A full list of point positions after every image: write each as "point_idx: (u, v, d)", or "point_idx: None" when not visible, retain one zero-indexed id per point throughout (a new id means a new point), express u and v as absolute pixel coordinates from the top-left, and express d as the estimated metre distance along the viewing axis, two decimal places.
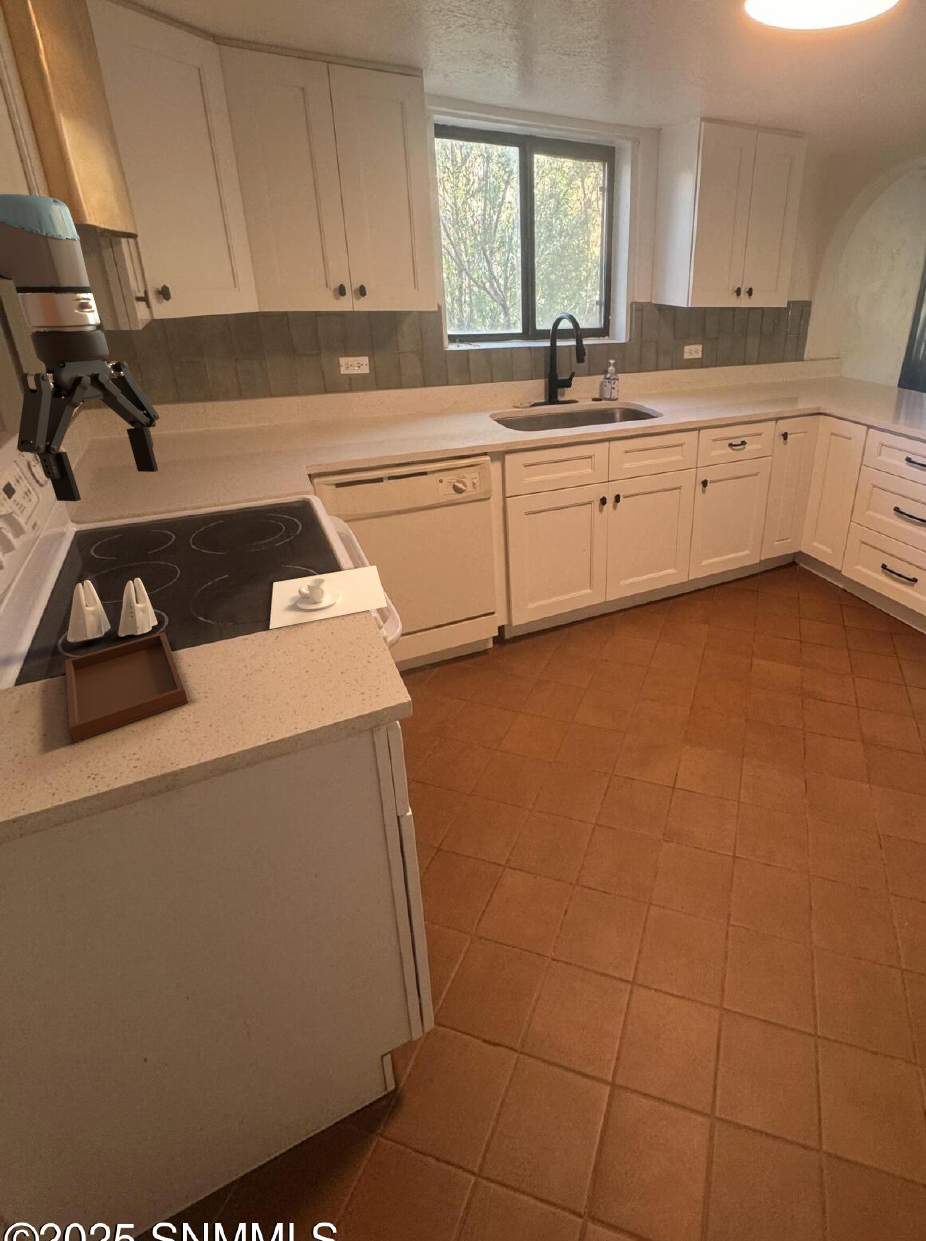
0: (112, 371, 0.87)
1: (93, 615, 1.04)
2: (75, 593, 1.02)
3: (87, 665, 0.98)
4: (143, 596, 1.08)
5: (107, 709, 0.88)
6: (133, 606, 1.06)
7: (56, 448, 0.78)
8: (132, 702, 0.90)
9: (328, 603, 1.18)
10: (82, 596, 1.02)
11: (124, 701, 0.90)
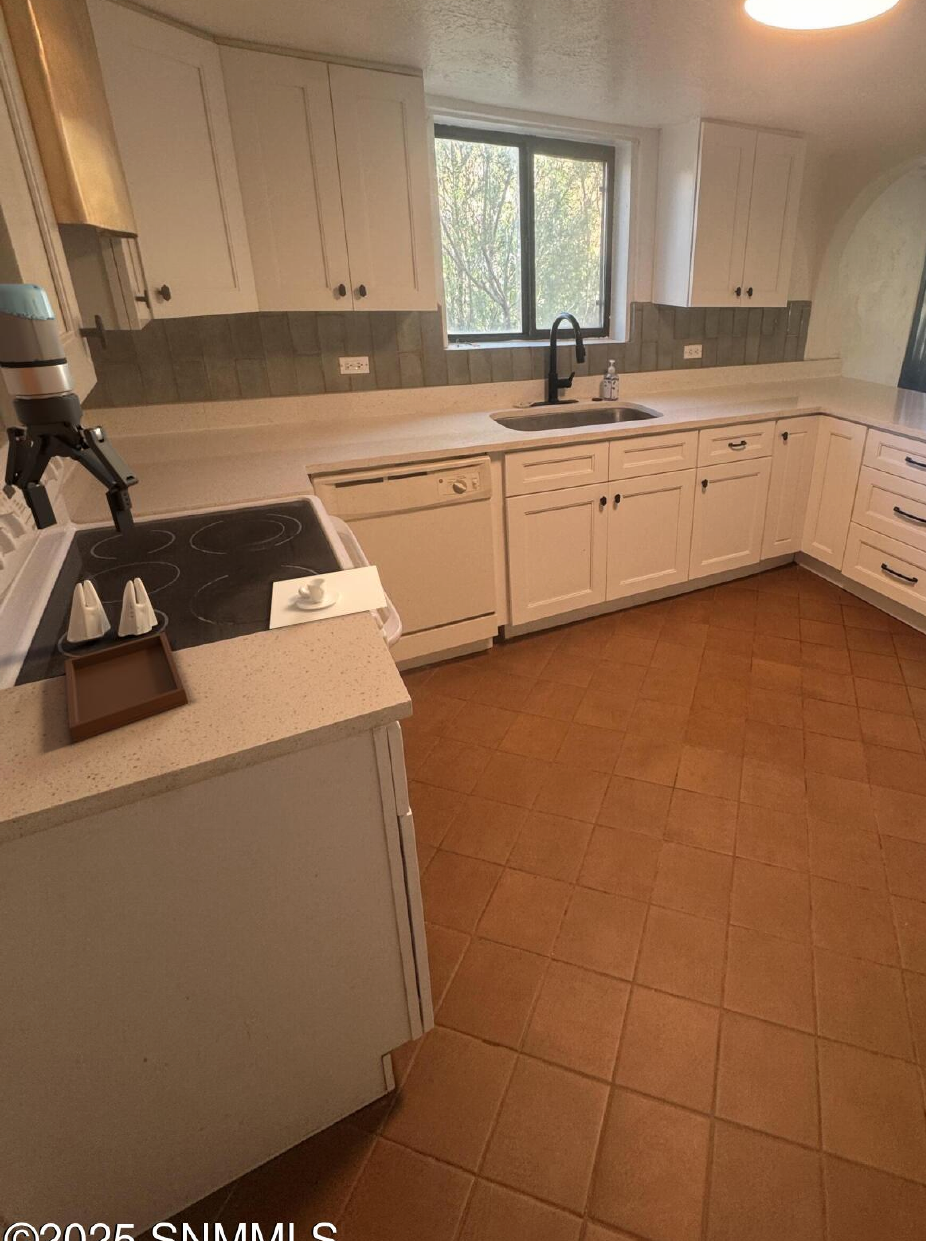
0: None
1: (93, 615, 1.04)
2: (75, 593, 1.02)
3: (87, 665, 0.98)
4: (143, 596, 1.08)
5: (107, 709, 0.88)
6: (133, 606, 1.06)
7: None
8: (132, 702, 0.90)
9: (328, 603, 1.18)
10: (82, 596, 1.02)
11: (124, 701, 0.90)
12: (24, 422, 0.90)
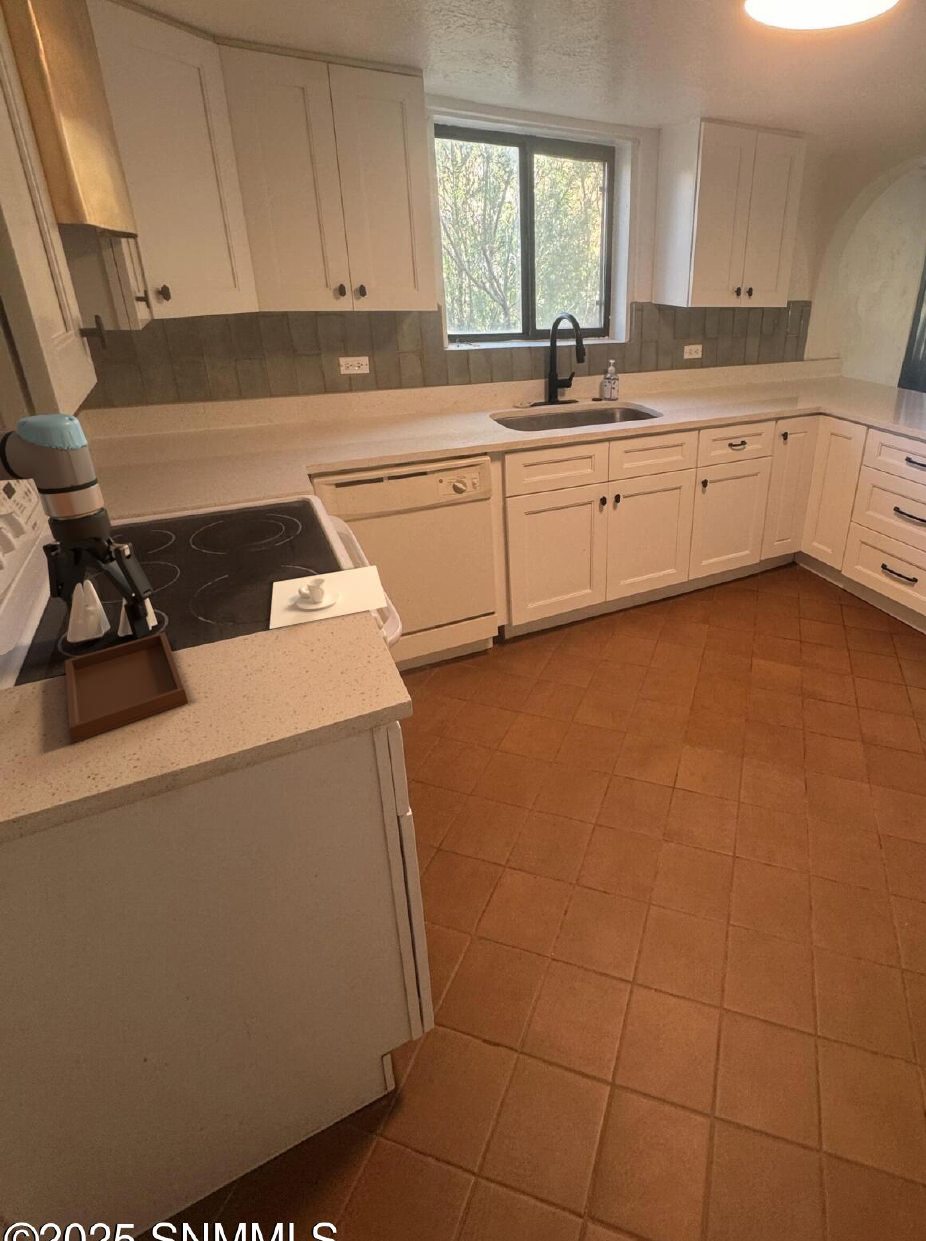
0: None
1: (93, 615, 1.04)
2: (75, 593, 1.02)
3: (87, 665, 0.98)
4: None
5: (107, 709, 0.88)
6: None
7: None
8: (132, 702, 0.90)
9: (328, 603, 1.18)
10: (82, 596, 1.02)
11: (124, 701, 0.90)
12: (59, 540, 0.98)
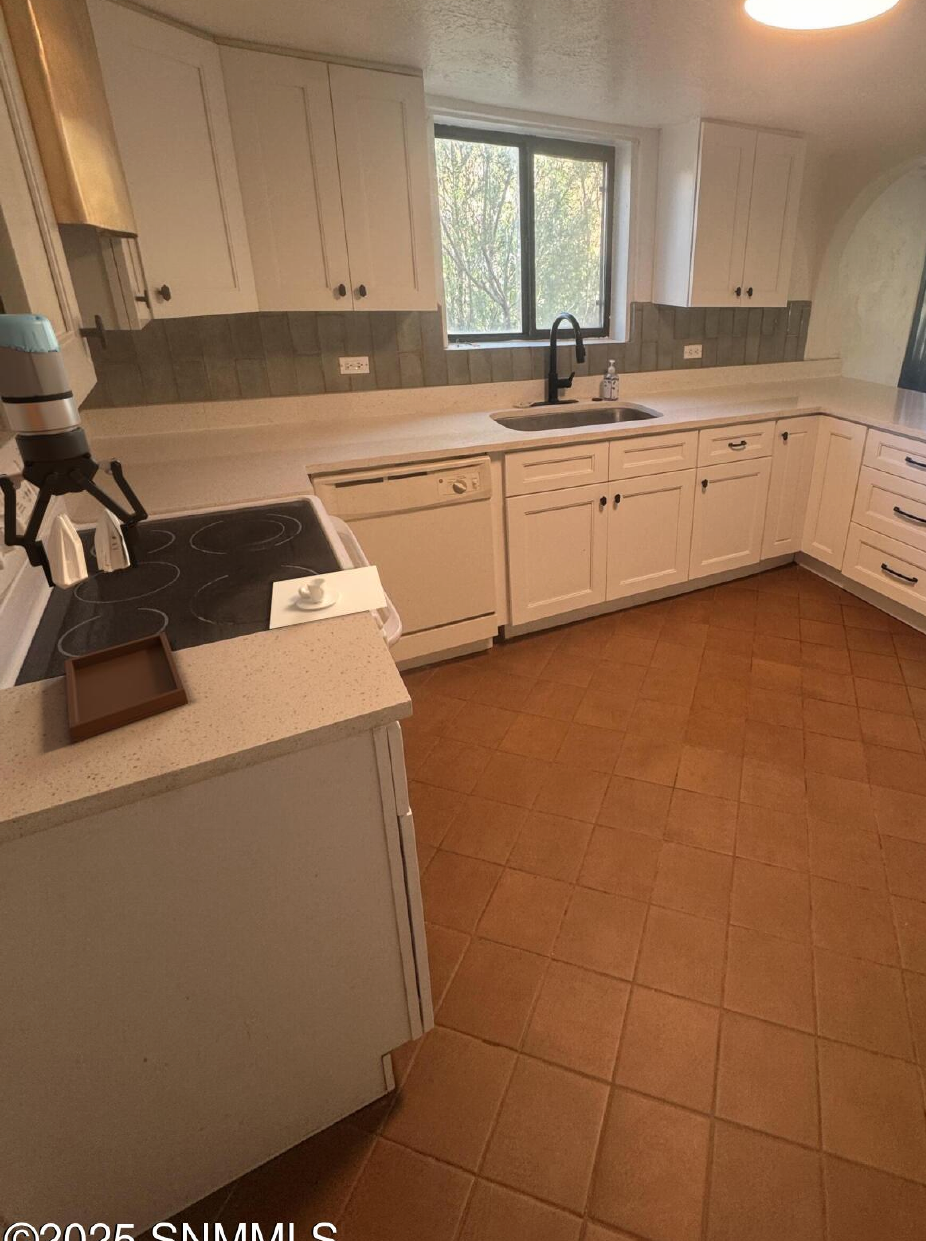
0: None
1: (79, 551, 0.91)
2: (58, 527, 0.89)
3: (87, 665, 0.98)
4: (119, 526, 0.98)
5: (107, 709, 0.88)
6: (118, 535, 0.96)
7: None
8: (132, 702, 0.90)
9: (328, 603, 1.18)
10: (68, 529, 0.89)
11: (124, 701, 0.90)
12: (51, 459, 0.85)
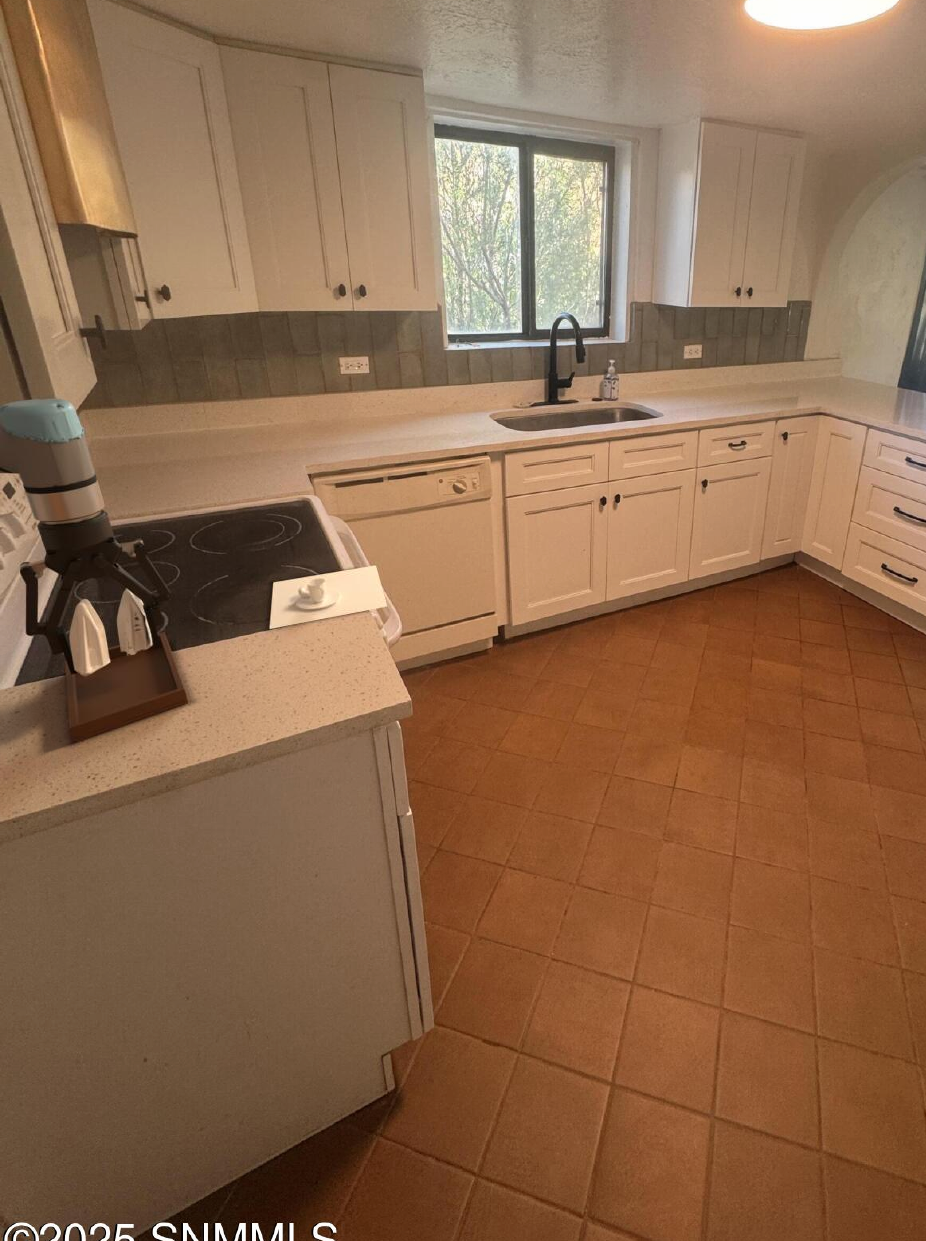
0: None
1: (102, 637, 0.88)
2: (80, 615, 0.86)
3: None
4: (141, 605, 0.95)
5: (107, 709, 0.88)
6: (141, 616, 0.93)
7: None
8: (132, 702, 0.90)
9: (328, 603, 1.18)
10: (91, 616, 0.87)
11: (124, 701, 0.90)
12: (74, 547, 0.83)
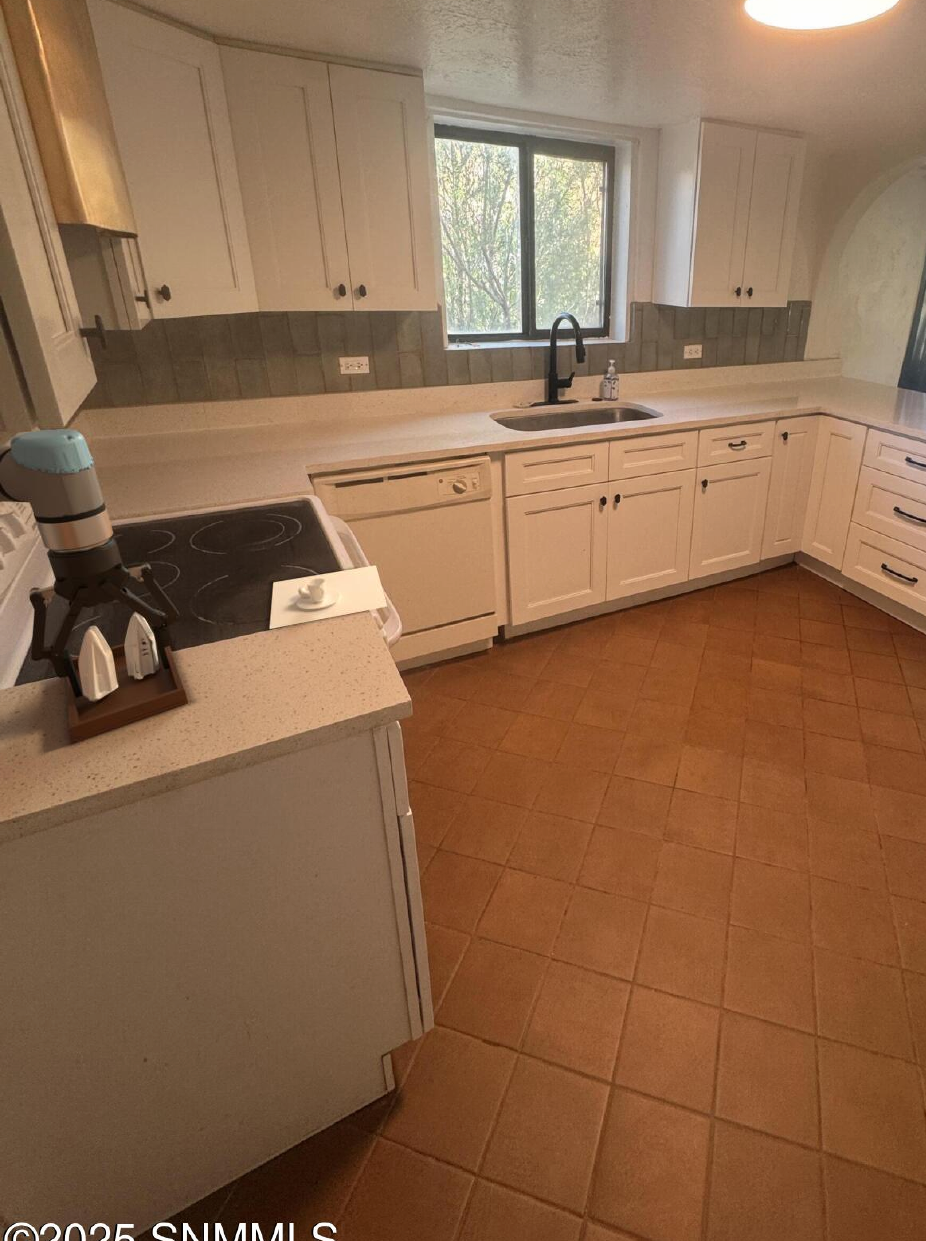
0: None
1: (110, 662, 0.90)
2: (89, 642, 0.87)
3: None
4: (148, 629, 0.96)
5: (107, 709, 0.88)
6: (148, 640, 0.95)
7: None
8: (132, 702, 0.90)
9: (328, 603, 1.18)
10: (99, 642, 0.88)
11: (124, 701, 0.90)
12: (83, 575, 0.84)
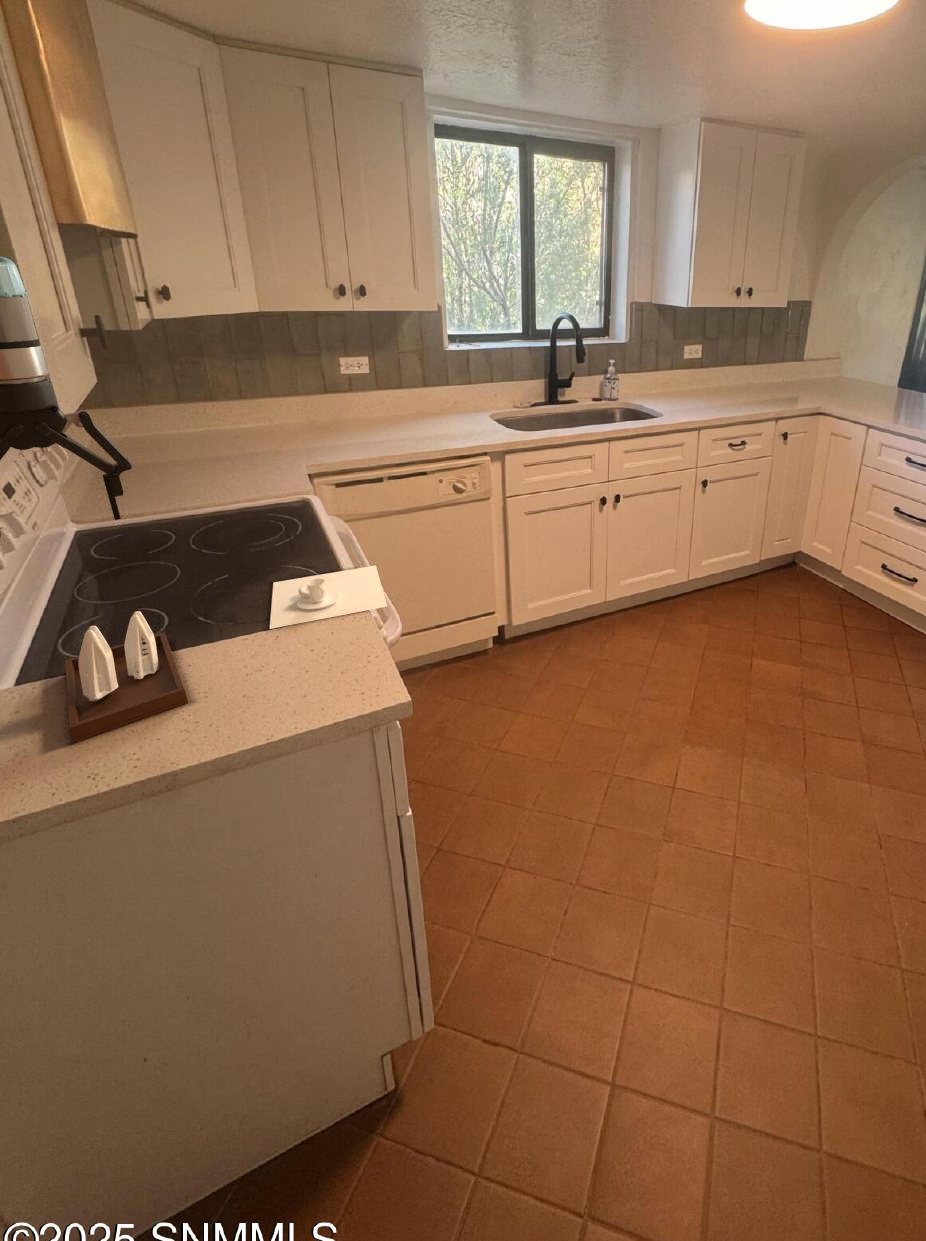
0: None
1: (110, 662, 0.90)
2: (89, 642, 0.87)
3: None
4: (148, 629, 0.96)
5: (107, 709, 0.88)
6: (148, 640, 0.95)
7: None
8: (132, 702, 0.90)
9: (328, 603, 1.18)
10: (99, 642, 0.88)
11: (124, 701, 0.90)
12: (14, 410, 0.81)
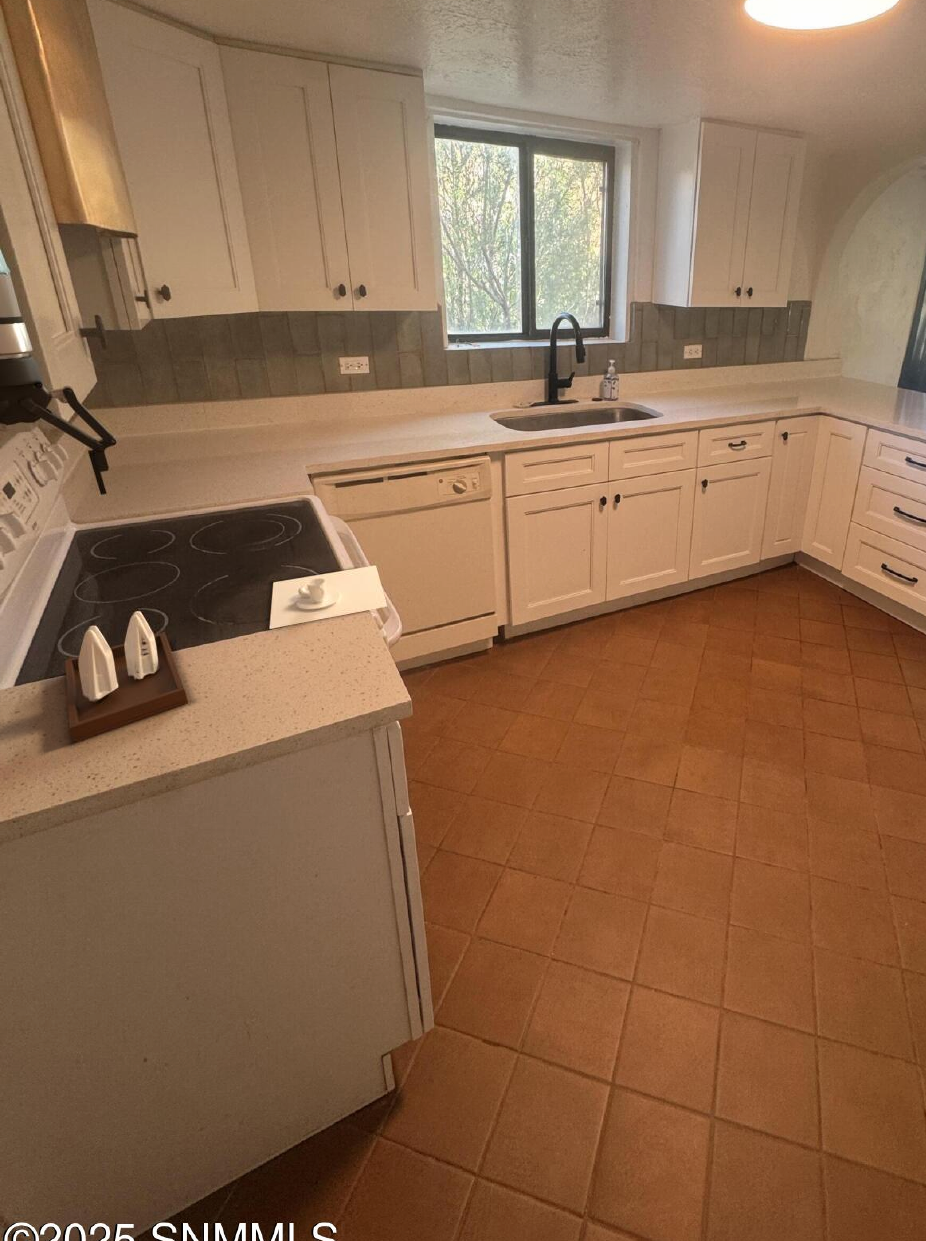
0: None
1: (110, 662, 0.90)
2: (89, 642, 0.87)
3: None
4: (148, 629, 0.96)
5: (107, 709, 0.88)
6: (148, 640, 0.95)
7: None
8: (132, 702, 0.90)
9: (328, 603, 1.18)
10: (99, 642, 0.88)
11: (124, 701, 0.90)
12: None
